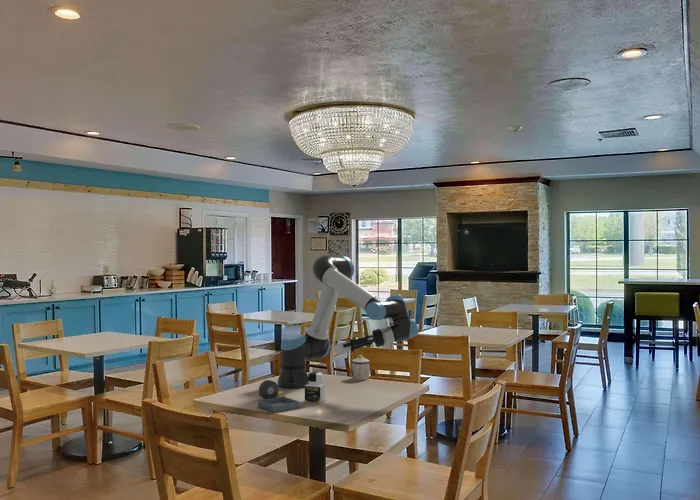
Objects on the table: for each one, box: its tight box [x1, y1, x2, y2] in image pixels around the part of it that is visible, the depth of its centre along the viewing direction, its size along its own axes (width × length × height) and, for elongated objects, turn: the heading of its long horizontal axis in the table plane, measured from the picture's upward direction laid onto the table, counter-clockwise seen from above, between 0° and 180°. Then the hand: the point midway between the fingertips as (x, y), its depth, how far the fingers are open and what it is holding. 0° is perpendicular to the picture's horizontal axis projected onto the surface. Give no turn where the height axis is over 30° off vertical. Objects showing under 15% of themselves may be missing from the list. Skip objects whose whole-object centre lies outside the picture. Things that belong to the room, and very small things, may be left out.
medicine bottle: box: [304, 371, 327, 404], centre depth 256 cm, size 7×7×12 cm
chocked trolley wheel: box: [258, 379, 285, 400], centre depth 260 cm, size 3×11×8 cm, turn 128°
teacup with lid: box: [351, 354, 370, 381], centre depth 303 cm, size 12×9×12 cm
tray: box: [257, 395, 301, 414], centre depth 245 cm, size 12×12×3 cm
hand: (335, 350), depth 262 cm, fingers open, 13 cm apart
